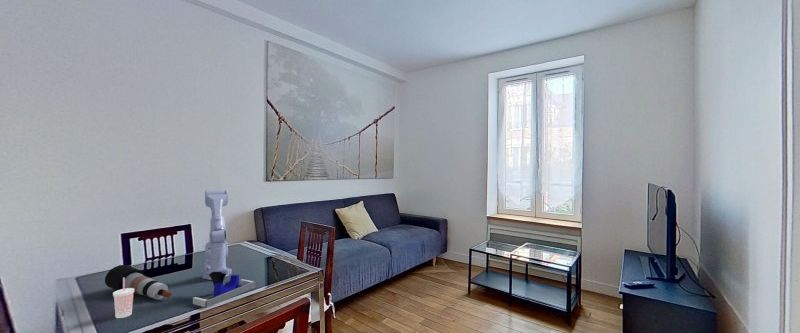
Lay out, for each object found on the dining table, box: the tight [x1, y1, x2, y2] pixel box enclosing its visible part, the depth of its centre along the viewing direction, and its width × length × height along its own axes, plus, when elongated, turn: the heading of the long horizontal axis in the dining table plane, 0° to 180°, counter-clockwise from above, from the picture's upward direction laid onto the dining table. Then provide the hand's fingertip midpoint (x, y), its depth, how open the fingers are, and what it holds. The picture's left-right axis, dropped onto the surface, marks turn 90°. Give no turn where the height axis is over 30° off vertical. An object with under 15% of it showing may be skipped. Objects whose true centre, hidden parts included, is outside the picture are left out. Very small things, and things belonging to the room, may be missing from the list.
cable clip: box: [213, 274, 240, 298], centre depth 137 cm, size 12×4×6 cm, turn 173°
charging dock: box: [192, 279, 257, 309], centre depth 135 cm, size 8×23×2 cm, turn 156°
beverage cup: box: [112, 277, 134, 319], centre depth 117 cm, size 6×6×14 cm
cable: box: [104, 264, 172, 300], centre depth 136 cm, size 10×34×10 cm, turn 69°
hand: (218, 288), depth 137 cm, fingers closed
